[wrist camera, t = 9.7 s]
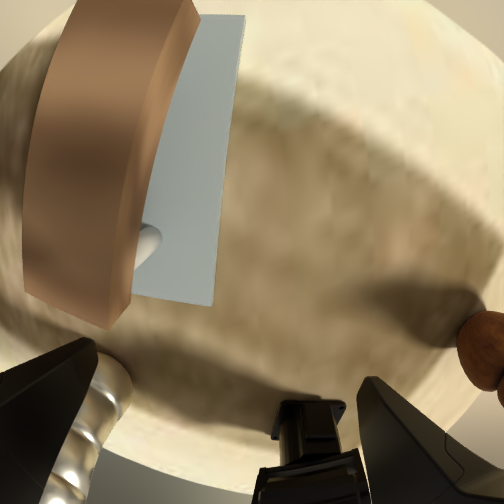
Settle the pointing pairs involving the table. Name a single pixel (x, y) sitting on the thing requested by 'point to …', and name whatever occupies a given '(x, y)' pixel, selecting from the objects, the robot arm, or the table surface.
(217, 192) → the peg stand
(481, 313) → the wooden figurine
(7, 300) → the table surface
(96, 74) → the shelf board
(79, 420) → the plastic bottle
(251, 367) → the table surface
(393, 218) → the table surface
